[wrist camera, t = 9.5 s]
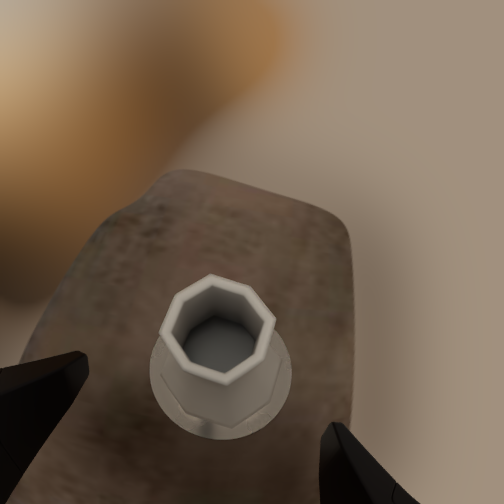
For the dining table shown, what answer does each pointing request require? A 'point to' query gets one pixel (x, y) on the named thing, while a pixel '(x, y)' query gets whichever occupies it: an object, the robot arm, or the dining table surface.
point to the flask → (220, 351)
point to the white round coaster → (208, 428)
